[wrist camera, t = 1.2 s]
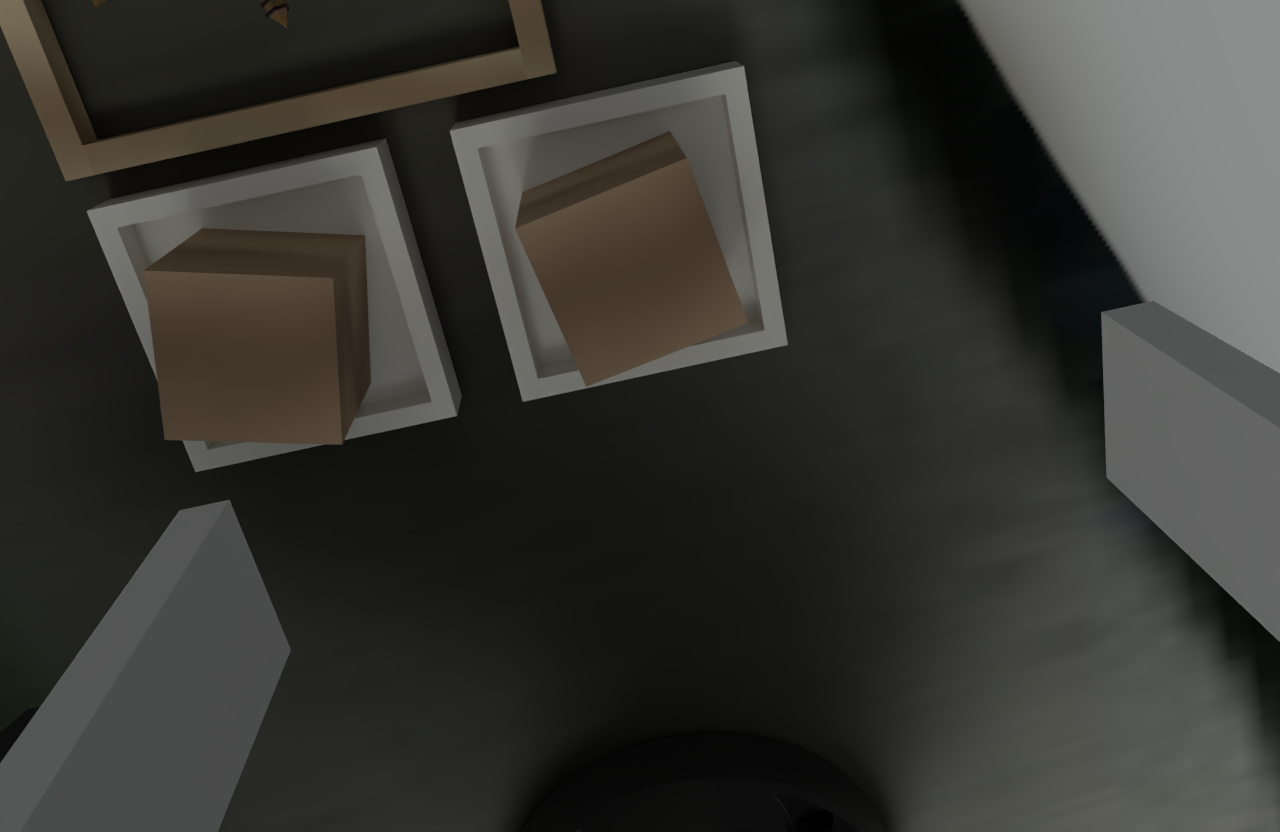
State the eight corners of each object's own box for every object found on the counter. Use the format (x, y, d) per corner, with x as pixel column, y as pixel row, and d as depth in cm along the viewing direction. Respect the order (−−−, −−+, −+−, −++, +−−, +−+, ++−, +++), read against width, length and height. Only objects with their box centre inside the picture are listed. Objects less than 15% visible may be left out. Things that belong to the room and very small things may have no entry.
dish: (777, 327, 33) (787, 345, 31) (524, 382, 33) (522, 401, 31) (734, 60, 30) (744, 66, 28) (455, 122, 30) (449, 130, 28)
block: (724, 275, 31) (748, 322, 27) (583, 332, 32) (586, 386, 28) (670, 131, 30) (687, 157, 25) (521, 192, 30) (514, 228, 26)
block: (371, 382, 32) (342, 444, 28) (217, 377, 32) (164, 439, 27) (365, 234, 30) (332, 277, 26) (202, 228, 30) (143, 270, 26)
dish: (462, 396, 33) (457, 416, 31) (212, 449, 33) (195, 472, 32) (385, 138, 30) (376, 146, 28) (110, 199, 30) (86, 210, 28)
